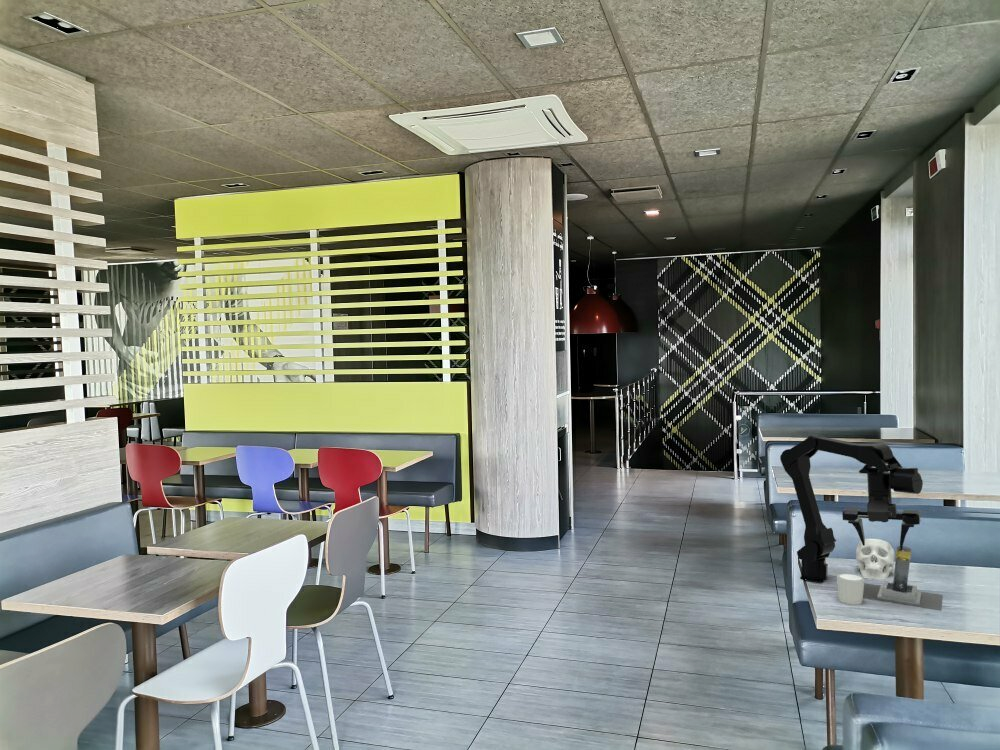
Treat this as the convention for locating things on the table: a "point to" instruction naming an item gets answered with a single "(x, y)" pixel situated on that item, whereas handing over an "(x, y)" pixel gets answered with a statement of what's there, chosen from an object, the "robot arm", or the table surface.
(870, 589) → the mat
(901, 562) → the grey yellow-banded cylinder
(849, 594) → the white cylinder
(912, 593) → the silver square tray
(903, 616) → the table surface
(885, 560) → the skull bowl
